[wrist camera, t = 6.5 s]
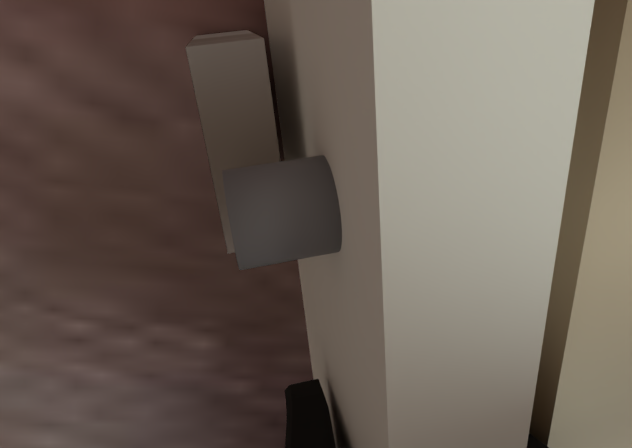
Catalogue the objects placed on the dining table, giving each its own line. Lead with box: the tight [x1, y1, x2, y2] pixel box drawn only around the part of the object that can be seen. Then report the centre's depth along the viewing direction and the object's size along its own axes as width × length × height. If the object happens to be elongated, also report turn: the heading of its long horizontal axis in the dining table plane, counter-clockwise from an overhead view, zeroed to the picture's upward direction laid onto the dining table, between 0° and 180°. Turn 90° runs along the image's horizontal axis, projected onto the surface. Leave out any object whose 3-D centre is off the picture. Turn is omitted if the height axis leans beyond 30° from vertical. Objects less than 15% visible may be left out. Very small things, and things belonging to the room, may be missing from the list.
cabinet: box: [185, 0, 632, 448], centre depth 11 cm, size 20×15×6 cm
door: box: [222, 0, 595, 448], centre depth 9 cm, size 16×3×7 cm, turn 6°
